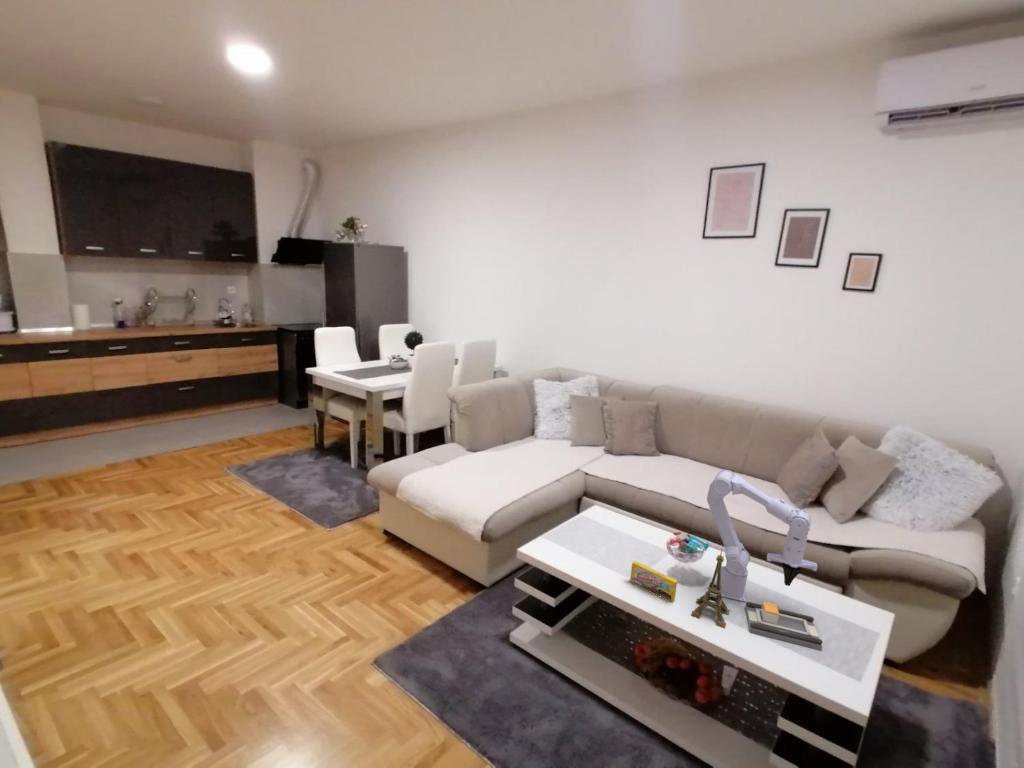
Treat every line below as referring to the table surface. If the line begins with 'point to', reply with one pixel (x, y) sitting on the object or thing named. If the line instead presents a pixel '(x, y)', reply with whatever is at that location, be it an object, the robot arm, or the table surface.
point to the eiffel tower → (713, 597)
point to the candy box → (653, 581)
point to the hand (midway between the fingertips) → (786, 583)
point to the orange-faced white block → (769, 613)
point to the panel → (784, 627)
